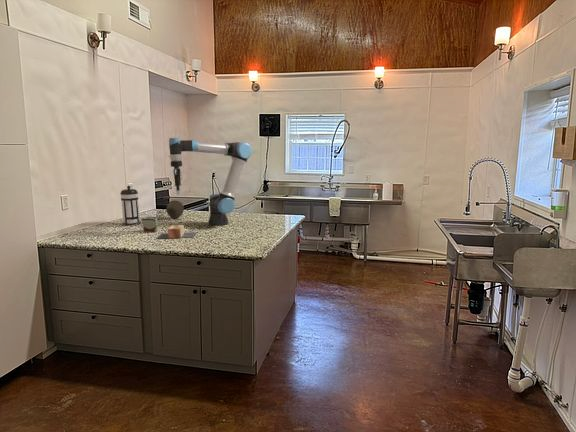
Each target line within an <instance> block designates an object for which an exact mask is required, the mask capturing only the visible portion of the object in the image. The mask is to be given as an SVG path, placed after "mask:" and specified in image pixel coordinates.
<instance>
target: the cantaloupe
mask: <svg viewBox="0 0 576 432" xmlns="http://www.w3.org/2000/svg"><path fill="white" fill-rule="evenodd" d="M184 209H185V208H184V204H183V203H182V202H181V201H179V200H171V201H169V202H168V203H167V205H166V210H165V211H166V213H167V215H168V216H169V217H170V218H172V219H178V218H180V217H182V215H183V214H184V211H185V210H184Z"/></svg>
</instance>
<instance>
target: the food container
mask: <svg viewBox="0 0 576 432" xmlns="http://www.w3.org/2000/svg"><path fill="white" fill-rule="evenodd" d="M140 220H141V221H142V228H143V232H144V233H157V224H158V217H156V216H144V217H141V219H140Z"/></svg>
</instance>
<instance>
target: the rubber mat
mask: <svg viewBox="0 0 576 432" xmlns="http://www.w3.org/2000/svg"><path fill="white" fill-rule="evenodd" d="M197 234H198V232H197V231H192V232H191V231H190V232H184V234H183V236H182V237H181V238H180V239H189V238H190V239H191V238H195V237H196V235H197ZM159 239H161V240H162V239H169V238H168V232H162V233H160V234H159V235H158V236H157V237H156V240H159Z"/></svg>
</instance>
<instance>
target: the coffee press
mask: <svg viewBox="0 0 576 432" xmlns="http://www.w3.org/2000/svg"><path fill="white" fill-rule="evenodd" d="M126 188H127V189H126ZM126 188H125V189H121V191H120V193H119V194H120V201H121V210H122V211H121V212H122V222H123V225H124V227H127V226H128V225H130V224H131V225H133V224H137V226H138V225H141V222H140V220H141V219H140V209H139V195H138V194H139V192H138V190H137V189H135V188H131V186H130V185H127V187H126Z"/></svg>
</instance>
